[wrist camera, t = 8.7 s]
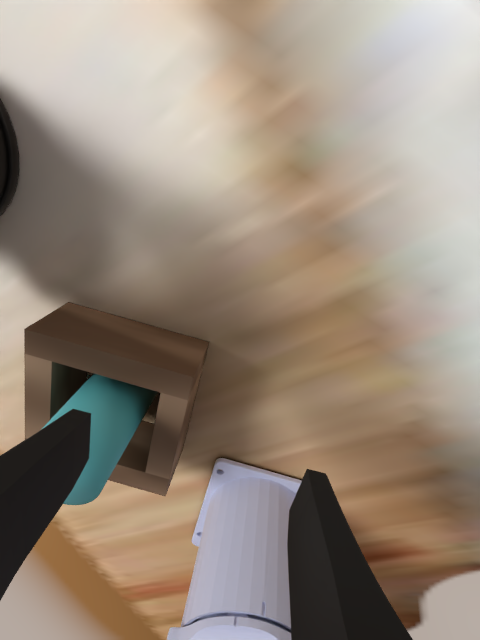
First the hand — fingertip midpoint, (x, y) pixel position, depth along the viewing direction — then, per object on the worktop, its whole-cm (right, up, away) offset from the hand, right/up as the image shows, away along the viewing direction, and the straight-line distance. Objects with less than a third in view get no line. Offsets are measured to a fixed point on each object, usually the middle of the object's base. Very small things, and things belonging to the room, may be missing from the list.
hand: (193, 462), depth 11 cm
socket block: (-6, +1, +12) cm, 13 cm away
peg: (-6, +1, +12) cm, 13 cm away
